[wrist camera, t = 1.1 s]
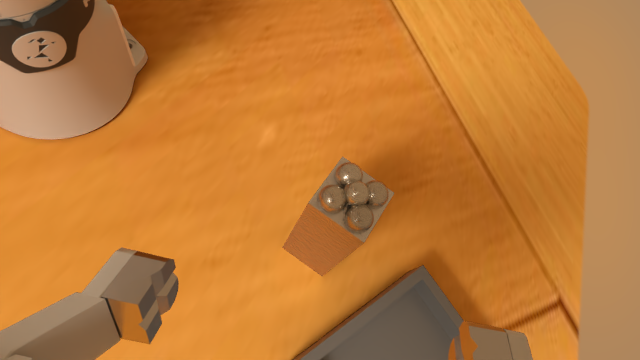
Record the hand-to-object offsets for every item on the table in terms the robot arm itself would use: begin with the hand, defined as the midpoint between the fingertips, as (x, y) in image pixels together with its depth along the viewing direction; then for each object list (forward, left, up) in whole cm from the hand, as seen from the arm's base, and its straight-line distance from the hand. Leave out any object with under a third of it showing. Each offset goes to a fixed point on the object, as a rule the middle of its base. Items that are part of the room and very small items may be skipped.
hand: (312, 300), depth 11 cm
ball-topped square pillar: (-4, +11, -28) cm, 31 cm away
